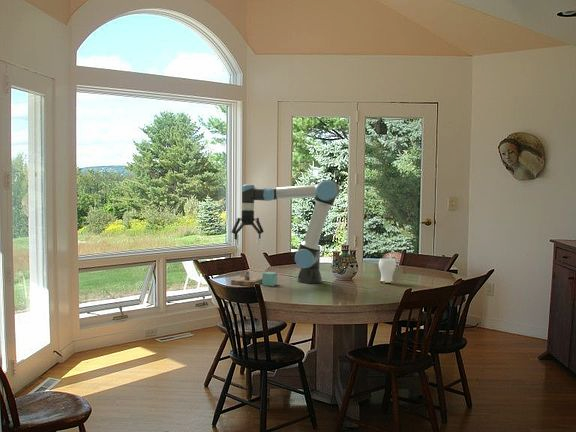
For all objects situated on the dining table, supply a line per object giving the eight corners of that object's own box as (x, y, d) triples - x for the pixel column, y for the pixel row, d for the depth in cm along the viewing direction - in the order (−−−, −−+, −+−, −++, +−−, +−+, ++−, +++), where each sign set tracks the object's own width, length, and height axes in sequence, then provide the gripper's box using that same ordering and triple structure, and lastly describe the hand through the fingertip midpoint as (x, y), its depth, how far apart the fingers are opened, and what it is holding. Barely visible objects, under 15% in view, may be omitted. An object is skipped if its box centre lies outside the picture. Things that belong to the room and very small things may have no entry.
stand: (262, 283, 376) (262, 270, 375) (252, 286, 362) (253, 273, 362) (241, 280, 380) (241, 268, 380) (231, 284, 367) (231, 271, 367)
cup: (396, 282, 394) (398, 259, 393) (392, 285, 384) (393, 260, 383) (380, 281, 398) (381, 257, 398) (375, 283, 389) (376, 259, 388)
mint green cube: (276, 284, 373) (277, 272, 372) (272, 286, 366) (273, 274, 366) (266, 283, 375) (266, 271, 374) (262, 285, 369) (262, 273, 368)
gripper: (264, 209, 389) (263, 243, 390) (226, 209, 378) (226, 244, 379) (269, 210, 382) (268, 244, 383) (230, 210, 371) (230, 245, 373)
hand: (247, 244), depth 381 cm, fingers open, 13 cm apart
